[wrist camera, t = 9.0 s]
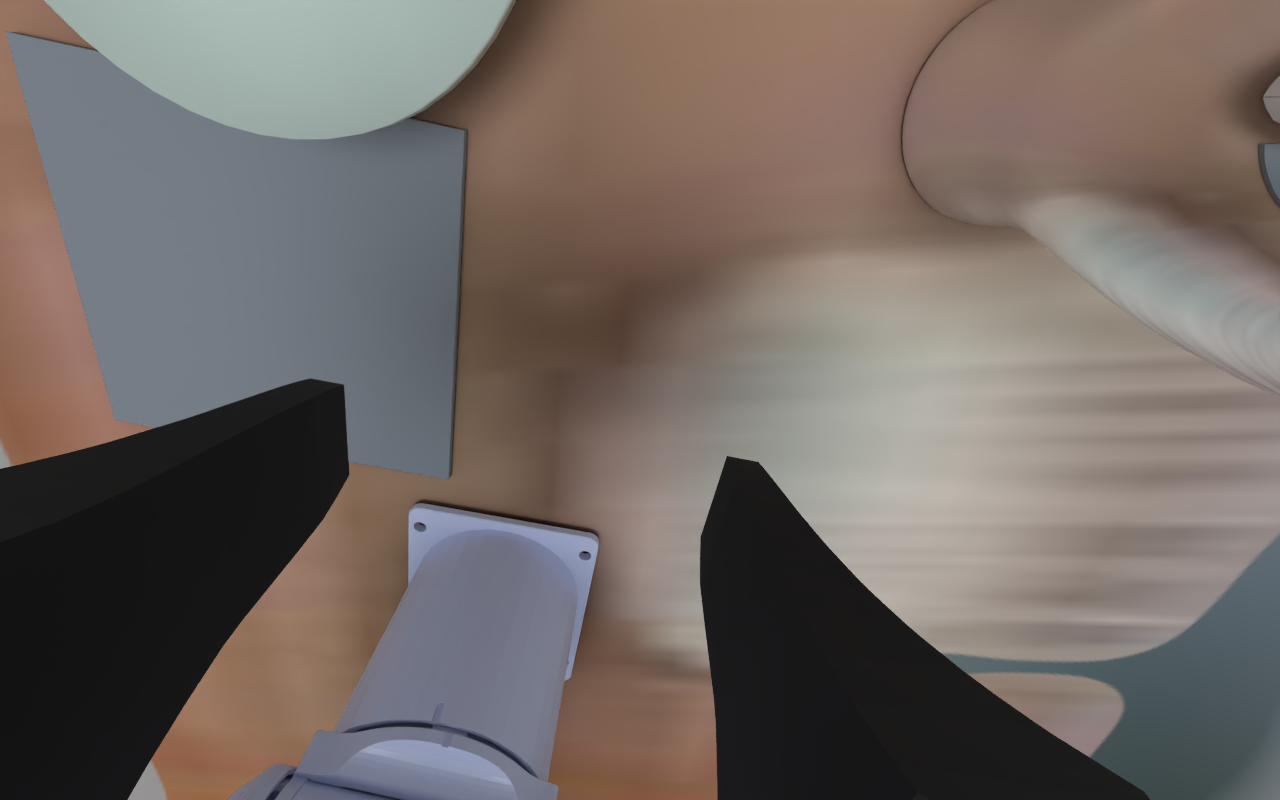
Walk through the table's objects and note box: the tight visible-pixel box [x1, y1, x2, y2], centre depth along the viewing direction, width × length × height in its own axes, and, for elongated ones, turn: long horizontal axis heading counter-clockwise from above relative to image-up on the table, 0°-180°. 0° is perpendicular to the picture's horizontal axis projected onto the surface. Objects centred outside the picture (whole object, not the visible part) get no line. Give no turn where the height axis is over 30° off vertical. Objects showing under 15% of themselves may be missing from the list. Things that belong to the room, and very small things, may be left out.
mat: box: [6, 32, 467, 480], centre depth 20 cm, size 13×13×1 cm
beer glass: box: [902, 0, 1280, 397], centre depth 10 cm, size 7×7×15 cm
